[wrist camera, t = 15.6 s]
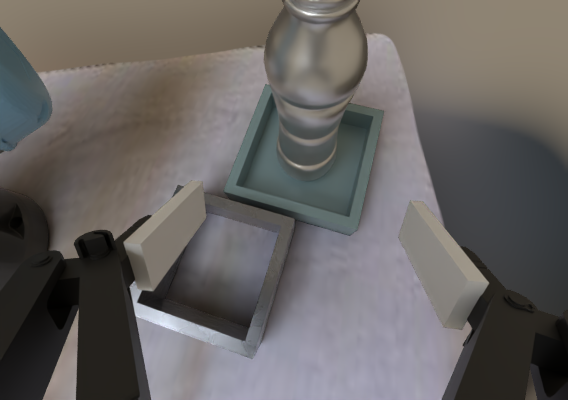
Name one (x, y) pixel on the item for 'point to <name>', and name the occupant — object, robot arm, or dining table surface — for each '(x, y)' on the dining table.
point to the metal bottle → (313, 79)
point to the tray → (307, 194)
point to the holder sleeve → (210, 326)
